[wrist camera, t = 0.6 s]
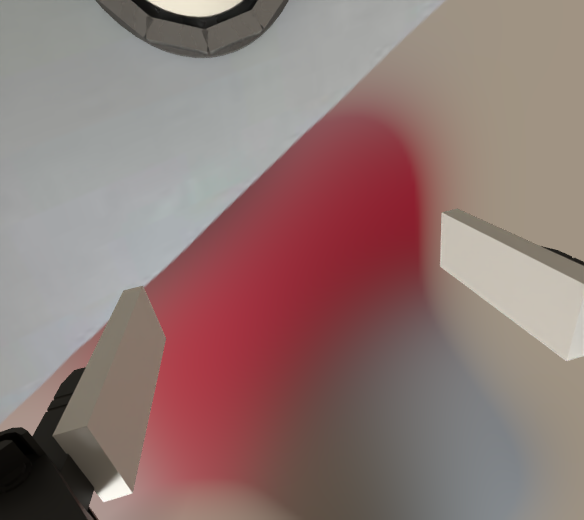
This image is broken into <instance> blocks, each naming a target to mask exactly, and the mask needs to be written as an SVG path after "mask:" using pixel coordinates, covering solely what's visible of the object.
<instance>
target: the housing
mask: <svg viewBox="0 0 584 520" xmlns="http://www.w3.org/2000/svg"><path fill="white" fill-rule="evenodd" d="M96 1H97V3H98V4H99V5H100V6H101V7H102V8H103V9H104V10H105V11H106V12H107V13H108V14H109V15H110V16H111V17H112V18H113V19H114V20H115V21H117V22H118V23H119V24H120V25H121V26H122V27H124V28H125V29H127V30H128V31H129V32H131V33H132V34H133V35H135V36H136V37H138V38H139V39H141V40H143V41H144V42H146V43H148V44H150V45H151V46H154V47H156V48H159V49H161V50H163V51H166V52H169V53H172V54H176V55H180V56H186V57H193V58H211V57H217V56H223V55H226V54H229V53H232V52H235V51H238V50H240V49H242V48H244V47H246V46H248V45H249V44H251V43H252V42H254V41H255V40H256V39H258V38H259V37H260V36H261V35H262V34H264V33H265V32H266V31H267V30H268V29H269V28H270V27H271V25H272V24H273V23H274V22H275V20H276V19H277V18H278V17H279V15H280V14H281V12H282V11H283V9H284V7H285V6H286V4H287V2H288V0H244V1H243V2H242V3H241V4H239V5H238V6H236V7H235V8H233V9H232V10H230V11H228V12H226V13H223V14H221V15H218V16H214V17H210V18H200V19H198V18H186V17H181V16H176V15H174V14H171V13H168V12H165V11H163V10H161V9H159V8H157V7H155V6H153V5H152V4H151V3H149V2H148V1H146V0H96Z"/></svg>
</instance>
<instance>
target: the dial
mask: <svg viewBox="0 0 584 520" xmlns="http://www.w3.org/2000/svg"><path fill="white" fill-rule="evenodd" d="M146 1H148V2H149V3H151V4H152V5H153V6H155V7H157V8H159V9H161V10H163V11H165V12H168V13H171V14H174V15H176V16H181V17H186V18H198V19H200V18H210V17H214V16H218V15H221V14H223V13H226V12H228V11H230V10H232V9H233V8H235V7H236V6H238V5H239V4H241V3H242V2H243V1H244V0H146Z"/></svg>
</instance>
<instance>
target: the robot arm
mask: <svg viewBox="0 0 584 520" xmlns="http://www.w3.org/2000/svg"><path fill="white" fill-rule="evenodd" d="M441 223H442V224H441V253H440V254H441V255H440V267H442V268H443V269H444V270H446V271H447V272H448V273H450V274H451V275H452V276H454V277H455V278H456V279H458V280H459V281H460V282H462V283H463V284H464V285H466V286H467V287H468V288H470V289H471V290H472V291H474V292H475V293H476V294H478V295H479V296H480V297H482V298H483V299H484V300H486V301H487V302H488V303H490V304H491V305H492V306H494V307H495V308H496V309H498V310H499V311H500V312H502V313H503V314H504V315H506V316H507V317H508V318H510V319H511V320H512V321H514V322H515V323H516V324H518V325H519V326H520V327H522V328H523V329H524V330H526V331H527V332H528V333H530V334H531V335H532V336H534V337H535V338H536V339H538V340H539V341H540V342H542V343H543V344H544V345H546V346H547V347H548V348H550V349H551V350H552V351H554V352H555V353H556V354H558V355H559V356H560V357H562V358H563V359H564V360H566V361H569V360H572V359H575V358H578V357H582V356H584V262H583V261H581V260H578V259H576V258H572V256H569V255H567V254H565V253H562V252H560V251H558V250H555V249H550V248H546V247H542V246H539V245H536V244H534V243H532V242H530V241H528V240H526V239H523V238H521V237H519V236H517V235H515V234H512V233H510V232H508V231H506V230H503V229H501V228H499V227H497V226H494V225H493V224H490V223H488V222H486V221H483V220H482V219H479V218H477V217H475V216H473V215H470V214H468V213H466V212H464V211H461V210H459V209H454V210H450V211H446V212H442V221H441ZM165 340H166V337H165V335H164V333H163V331H162V328H161V326H160V324H159V321H158V319H157V317H156V315H155V312H154V310H153V308H152V306H151V303H150V301H149V299H148V297H147V294H146V292H145V290H144V287H143V286H140V287H136V288H132V289H128V290H124V291H123V293H122V295H121V297H120V299H119V301H118V303H117V305H116V307H115V309H114V311H113V313H112V315H111V317H110V319H109V321H108V323H107V326H106V327H105V330H104V332H103V334H102V336H101V338H100V340H99V342H98V344H97V346H96V348H95V350H94V352H93V354H92V356H91V358H90V360H89V362H88V364H87V366H86V367H85V368H81V369H77V370H74V371H73V372H72V373H71V374H70V375H69V376H68V377H67V379H66V380H65V381H64V382H63V383H62V384H61V385H60V387H59V389H58V391H57V393H56V394H55V396H54V400H53V401H52V402H51V404H50V406H49V407H48V409H47V410H48V412H46V413H45V415H44V416H43V418H42V420H41V422H40V424H39V426H38V427H37V429H36V431H35V433H34V435H33V436H31V435H30V434H29V432H28V431H27V430H25V429H23V428H21V427H20V428H11V429H8V430H5V431H2V432H0V520H98V518H97V517H96V515H95V514H94V512H93V511H92V510H91V509H90V507H89V504H90V501H91V498H92V494H93V491H95V492H96V493H97V494H98V496H99V497H100V498H101V500H102V501H103V502H106V501H109V500H112V499H115V498H119V497H122V496H125V495H128V494H132V493H133V489H134V484H135V479H136V475H137V470H138V465H139V461H140V457H141V452H142V447H143V442H144V438H145V433H146V428H147V424H148V419H149V414H150V410H151V405H152V401H153V396H154V391H155V387H156V382H157V378H158V373H159V368H160V363H161V359H162V354H163V350H164V345H165Z"/></svg>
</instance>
